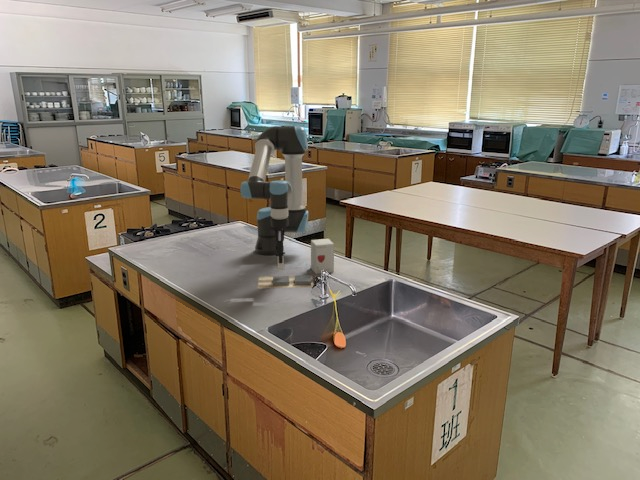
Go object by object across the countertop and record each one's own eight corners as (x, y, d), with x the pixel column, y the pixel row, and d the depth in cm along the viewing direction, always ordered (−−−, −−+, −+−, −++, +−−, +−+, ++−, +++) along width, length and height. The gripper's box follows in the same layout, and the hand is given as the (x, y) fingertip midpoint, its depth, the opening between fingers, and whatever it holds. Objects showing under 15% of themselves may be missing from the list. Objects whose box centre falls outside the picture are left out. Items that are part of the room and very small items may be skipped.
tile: (273, 276, 217) (272, 282, 210) (289, 276, 217) (289, 281, 211) (273, 279, 217) (272, 285, 211) (289, 279, 218) (289, 285, 211)
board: (259, 279, 221) (259, 276, 221) (312, 277, 223) (312, 275, 222) (257, 291, 208) (257, 288, 208) (313, 289, 209) (313, 286, 209)
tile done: (294, 279, 218) (294, 275, 217) (310, 278, 218) (310, 275, 218) (294, 285, 211) (294, 281, 211) (311, 284, 211) (311, 281, 211)
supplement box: (315, 276, 225) (315, 245, 220) (310, 269, 233) (310, 239, 228) (334, 274, 227) (334, 243, 222) (328, 268, 235) (328, 238, 231)
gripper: (271, 213, 216) (272, 264, 222) (270, 221, 203) (271, 274, 210) (288, 213, 216) (289, 264, 223) (288, 220, 203) (289, 274, 210)
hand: (280, 269), depth 216 cm, fingers closed
